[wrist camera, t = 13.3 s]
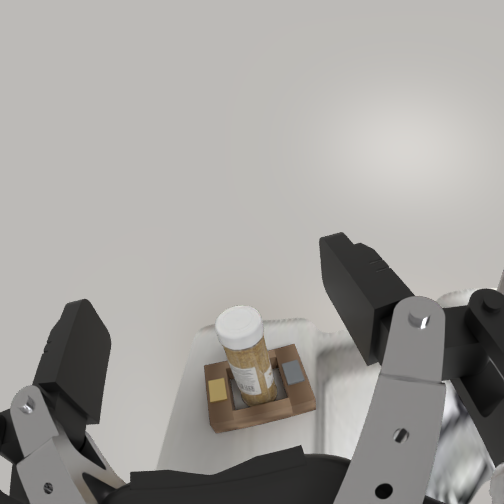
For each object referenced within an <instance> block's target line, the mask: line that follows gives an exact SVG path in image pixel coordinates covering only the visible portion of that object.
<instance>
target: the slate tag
mask: <svg viewBox="0 0 504 504" xmlns="http://www.w3.org/2000/svg"><path fill="white" fill-rule="evenodd" d="M282 367H283V371H284V374H285V377H286V380H287V383H288V385H292V384H296V383H299V382H303V381H305V379H304V376H303V373H302V371H301V368H300V365H299V363H298V360H294V361H291V362H287V363H283V364H282Z"/></svg>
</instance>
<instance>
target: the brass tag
mask: <svg viewBox="0 0 504 504" xmlns="http://www.w3.org/2000/svg"><path fill="white" fill-rule="evenodd" d="M208 384H209V393H210V402H211V403H215V402H220V401H225V400H228V399H227V392H226V386H225V379H224V378H221V379H216V380H211V381H208Z"/></svg>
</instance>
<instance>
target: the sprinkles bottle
mask: <svg viewBox="0 0 504 504" xmlns="http://www.w3.org/2000/svg"><path fill="white" fill-rule="evenodd" d="M215 329H216V333H217V336H218V338H219V341H220V343H221V344H222V345H223V347H224V350H225V352H226V355H227V360H228V362H229V365H230V368H231V370H232V373H233V375H234V378H235V380H236V383H237V385H238V387H239V389H240V392H241V396H242V399H243V401H244V402H245V403H246V404H247V405H249V406H250V407H253V406H257V405H261V404H265V403H270V402H273V401H274V400H275V398H276V396H277V387H276V385H275V382H274V376H273V372H272V368H271V364H270V359H269V355H268V351H267V349H266V344H265V340H264V335H263V334H264V326H263V321H262V318H261V315H260V313H259V312H258V311H257V310H256V309H254V308H253V307H250V306H246V305H239V306H234V307H231V308H228V309H226V310H225V311H223V312H222V313H221V314H220V315H219V316H218V318H217V320H216V322H215Z"/></svg>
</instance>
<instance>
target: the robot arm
mask: <svg viewBox="0 0 504 504" xmlns="http://www.w3.org/2000/svg"><path fill="white" fill-rule="evenodd" d="M319 246H320V258H321V270H322V280H323V284H324V287H325V290H326V292H327V294H328V296H329V298H330V300H331V301H332V303H333V305H334V306H335V308H336V310H337V312H338V314H339V315H340V317H341V319H342V321H343V323H344V324H345V326H346V328H347V330H348V331H349V333H350V335H351V337H352V339H353V340H354V342H355V344H356V346H357V348H358V350H359V351H360V353H361V355H362V357H363V359H364V361H365V362H366V364H367V366H369V365H371V364H374V363H377V362H379V363H380V365H381V371H380V374H379V376H378V380H377V383H376V387H375V390H374V394H373V397H372V401H371V404H370V407H369V411H368V414H367V417H366V420H365V423H364V426H363V429H362V432H361V435H360V438H359V441H358V444H357V446H356V449H355V452H354V455H353V457H352V460H349V459H347V458H343V457H339V456H334V455H327V454H304V452H303V449H302V446H301V445H300V446H296V447H293V448H289V449H285V450H281V451H277V452H273V453H269V454H265V455H261V456H256V457H254V458H252V459H250V460H248V461H245V462H243V463H241V464H239V465H236V466H234V467H232V468H229V469H227V470H224V471H222V472H220V473H217V474H214V475H203V474H194V473H186V472H179V471H172V470H159V471H141V472H131V473H130V481H131V482H130V483H128V484H126V483H125V482H124V481H123V480H122V479H120V478H119V477H118V476H117V474H116V473H115V472H114V471H113V469H112V468H111V467H110V465H109V464H108V462H107V461H106V459H105V458H104V456H103V455H102V453H101V452H100V450H99V449H98V447H97V446H96V444H95V443H94V441H93V439H92V438H91V436H90V435H89V434H88V433H87V432H86V431H85V430H86V425H89V424H99V421H100V413H101V405H102V397H103V391H104V385H105V378H106V372H107V366H108V361H109V355H110V350H111V339H110V334H109V332H108V330H107V328H106V327H105V325H104V324H103V322H102V321H101V319H100V318H99V316H98V314H97V313H96V311H95V309H94V308H93V306H92V304H91V303H90V302H89V301H88V300H87V299H82V300H78V301H74V302H70V303H67V304H66V306H65V308H64V310H63V313H62V315H61V318H60V320H59V321H58V322H57V324H56V325H55V326H54V327H53V329H52V330H51V332H50V335H49V337H48V340H47V344H46V346H45V348H44V354H42V357H41V360H40V363H39V365H38V368H37V371H36V375H35V378H34V381H33V384H32V385H30V386H26V387H24V388H23V389H21V390H20V391H19V392H18V393H17V394H16V395H15V397H14V398H13V401H12V403H11V408H10V409H8V410H5V411H3V412H0V455H1V456H2V457H4V458H5V459H7V460H8V461H10V462H11V463H13V466H12V474H11V485H10V495H9V496H8V495H6V494H4V493H3V492H2V491H1V490H0V504H446V503H443V502H440V501H438V500H435V499H433V498H431V497H428V496H426V495H425V494H426V490H427V487H428V483H429V479H430V476H431V472H432V468H433V463H434V459H435V455H436V450H437V445H438V440H439V435H440V429H441V424H442V417H443V411H444V404H445V395H446V385H445V383H442V382H441V381H443V380H449V379H450V380H451V382H452V384H453V386H454V387H455V389H456V391H457V393H458V394H459V396H460V398H461V400H462V402H463V403H464V405H465V407H466V409H467V411H468V413H469V415H470V416H471V418H472V420H473V422H474V424H475V426H476V428H477V430H478V432H479V434H480V436H481V438H482V440H483V442H484V444H485V446H486V448H487V450H488V452H489V454H490V457H491V459H492V461H493V463H494V465H495V468H496V469H495V470H494V472H493V474H492V477H491V481H490V490H489V493H490V495H491V497H492V504H504V270H503V273H502V277H501V280H500V283H499V286H498V289H497V291H496V290H493V289H480V290H477V291H475V292H474V293H473V294H472V295H471V297H470V300H469V303H468V305H466V306H459V307H451V308H442V307H441V306H440V305H439V304H438V303H437V302H435V301H434V300H432V299H429V298H426V297H422V296H415V295H414V294H413V293H412V292H411V291H410V289H409V288H408V287H407V286H406V285H405V284H404V283H403V281H402V280H401V279H400V278H399V277H398V276H397V275H396V274H395V272H394V271H393V270H392V269H391V268H389V266H388V265H387V263H386V262H385V261H384V260H382V258H381V257H380V256H379V255H378V253H377V252H376V251H375V250H374V249H372V248H370V247H368V246H366V245H364V244H362V243H358V244H353V243H352V242H351V241H350V240H349V238H347V236H346V235H345V234H344V233H342V232H340V233H337V234H333V235H329V236H325V237H321V238H320V241H319Z"/></svg>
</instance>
